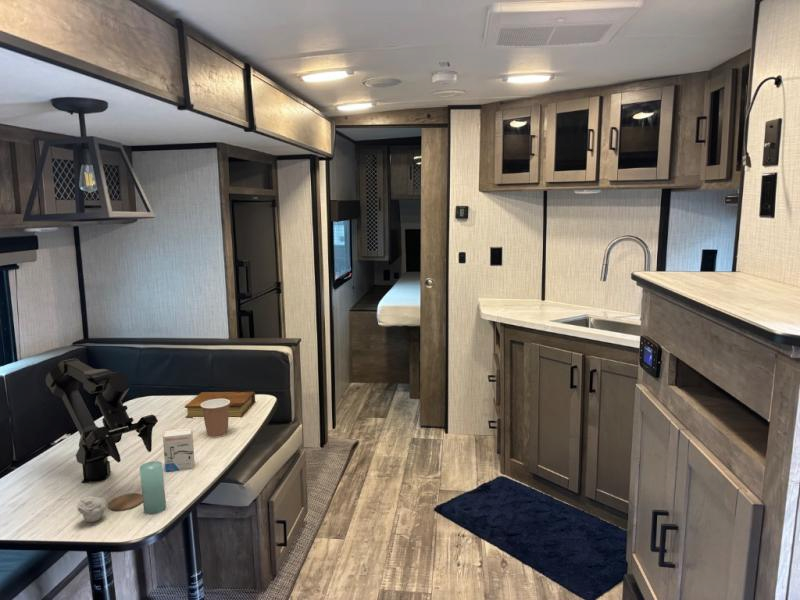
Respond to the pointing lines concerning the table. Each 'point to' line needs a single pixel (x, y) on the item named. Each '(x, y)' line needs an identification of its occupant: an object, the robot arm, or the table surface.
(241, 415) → the diary
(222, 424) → the coffee cup
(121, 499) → the coaster
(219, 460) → the table surface
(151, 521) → the table surface
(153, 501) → the teal round cylinder
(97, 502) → the white sculpted piece
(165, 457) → the ink box
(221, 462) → the table surface
